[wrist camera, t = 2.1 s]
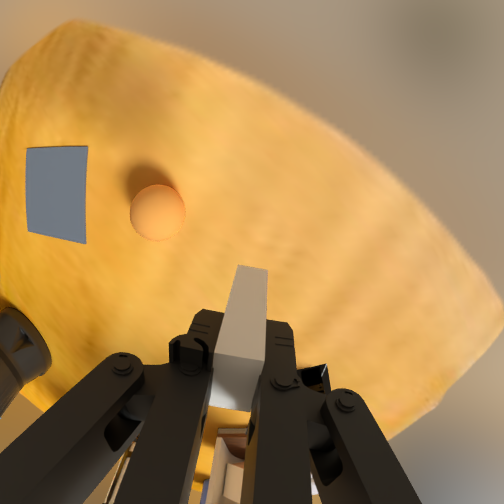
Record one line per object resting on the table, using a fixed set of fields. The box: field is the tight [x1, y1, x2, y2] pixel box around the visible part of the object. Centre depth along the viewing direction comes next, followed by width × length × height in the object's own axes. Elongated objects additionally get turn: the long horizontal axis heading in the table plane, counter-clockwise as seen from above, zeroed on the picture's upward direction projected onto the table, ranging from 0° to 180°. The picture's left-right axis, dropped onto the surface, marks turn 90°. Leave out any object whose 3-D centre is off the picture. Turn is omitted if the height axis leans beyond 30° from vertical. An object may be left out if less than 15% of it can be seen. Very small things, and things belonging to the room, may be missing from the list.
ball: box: [130, 184, 185, 241], centre depth 25 cm, size 6×6×6 cm
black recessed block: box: [297, 364, 331, 395], centre depth 34 cm, size 12×7×5 cm, turn 16°
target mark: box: [26, 147, 88, 244], centre depth 28 cm, size 12×12×1 cm
